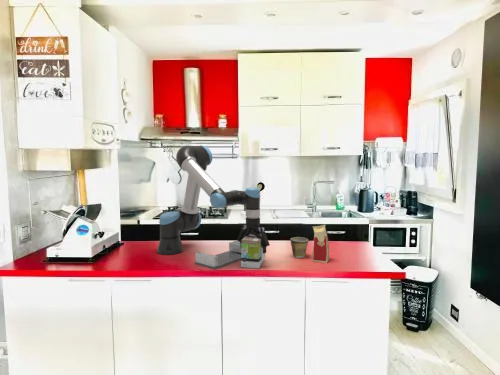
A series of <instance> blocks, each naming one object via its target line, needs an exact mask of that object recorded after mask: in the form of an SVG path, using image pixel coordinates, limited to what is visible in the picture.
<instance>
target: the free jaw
mask: <svg viewBox="0 0 500 375" xmlns="http://www.w3.org/2000/svg"><path fill="white" fill-rule="evenodd" d="M228 251H235V252H239V253H241V245H240V242H239V241H237V240H234V241H230V242H228Z"/></svg>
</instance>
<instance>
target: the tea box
mask: <svg viewBox="0 0 500 375" xmlns="http://www.w3.org/2000/svg"><path fill="white" fill-rule="evenodd" d="M261 247H262V245H261V239H258V238H257V237H256V236H255V235H252V234H251V235H250V234H249V236H245V237H244V238H243V239H242V242H241V260H240V267H241V268H245V269H246V268H247V269H248V268H249V269H260V267H261V266H262V264H263V262H264V261H265V259H263V260H261Z"/></svg>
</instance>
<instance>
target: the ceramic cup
mask: <svg viewBox="0 0 500 375" xmlns="http://www.w3.org/2000/svg"><path fill="white" fill-rule="evenodd" d="M308 243H309V239H308V238H306V237H301V236H296V237H291V238H290V246H291V252H292V257H293V258H296V259H303V258H305V257H306V253H307V247H308Z"/></svg>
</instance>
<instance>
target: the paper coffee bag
mask: <svg viewBox="0 0 500 375" xmlns="http://www.w3.org/2000/svg"><path fill="white" fill-rule="evenodd" d="M326 226H327V225H326V224H321V225H317V226H316V225H314V226H312V229H313V233H314V234H313V235H314V236H313V246H312V255H311V260H312V262H316V263H324V264H327V263H328V261H330V245H329V237H328V234H327V229H326Z"/></svg>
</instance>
